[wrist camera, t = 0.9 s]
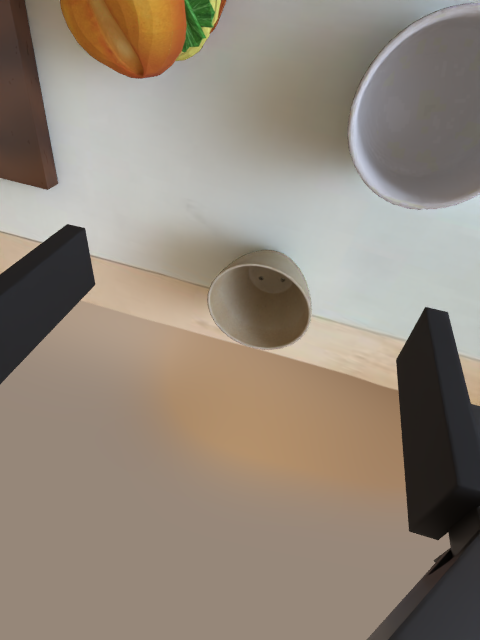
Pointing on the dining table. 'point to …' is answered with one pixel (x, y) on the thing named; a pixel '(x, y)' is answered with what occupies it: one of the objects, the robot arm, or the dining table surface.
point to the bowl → (261, 301)
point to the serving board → (22, 104)
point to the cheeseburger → (141, 31)
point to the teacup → (422, 113)
